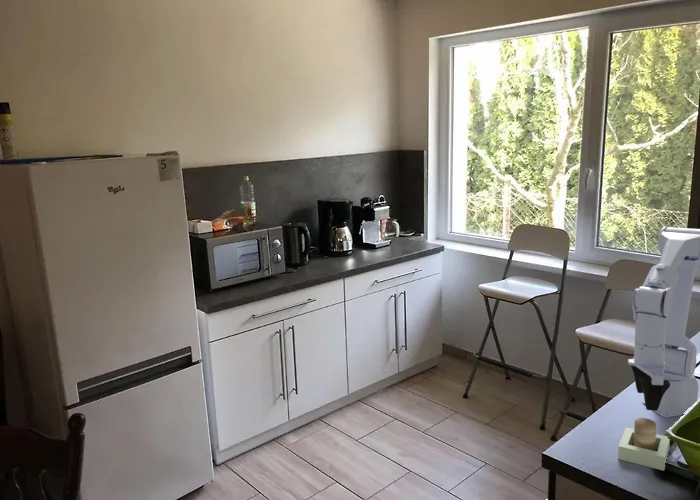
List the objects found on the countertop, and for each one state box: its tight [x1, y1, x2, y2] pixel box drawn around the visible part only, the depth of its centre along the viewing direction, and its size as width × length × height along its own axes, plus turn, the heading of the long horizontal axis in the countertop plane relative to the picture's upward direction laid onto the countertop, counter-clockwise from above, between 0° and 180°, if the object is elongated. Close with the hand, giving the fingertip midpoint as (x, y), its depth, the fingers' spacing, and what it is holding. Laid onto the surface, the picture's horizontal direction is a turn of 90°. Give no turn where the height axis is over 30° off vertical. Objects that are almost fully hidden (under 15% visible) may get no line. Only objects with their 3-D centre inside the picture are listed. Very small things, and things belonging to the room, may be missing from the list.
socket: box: [617, 427, 671, 472], centre depth 120 cm, size 8×8×3 cm
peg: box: [633, 417, 657, 451], centre depth 119 cm, size 4×4×7 cm
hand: (647, 400), depth 123 cm, fingers open, 7 cm apart
